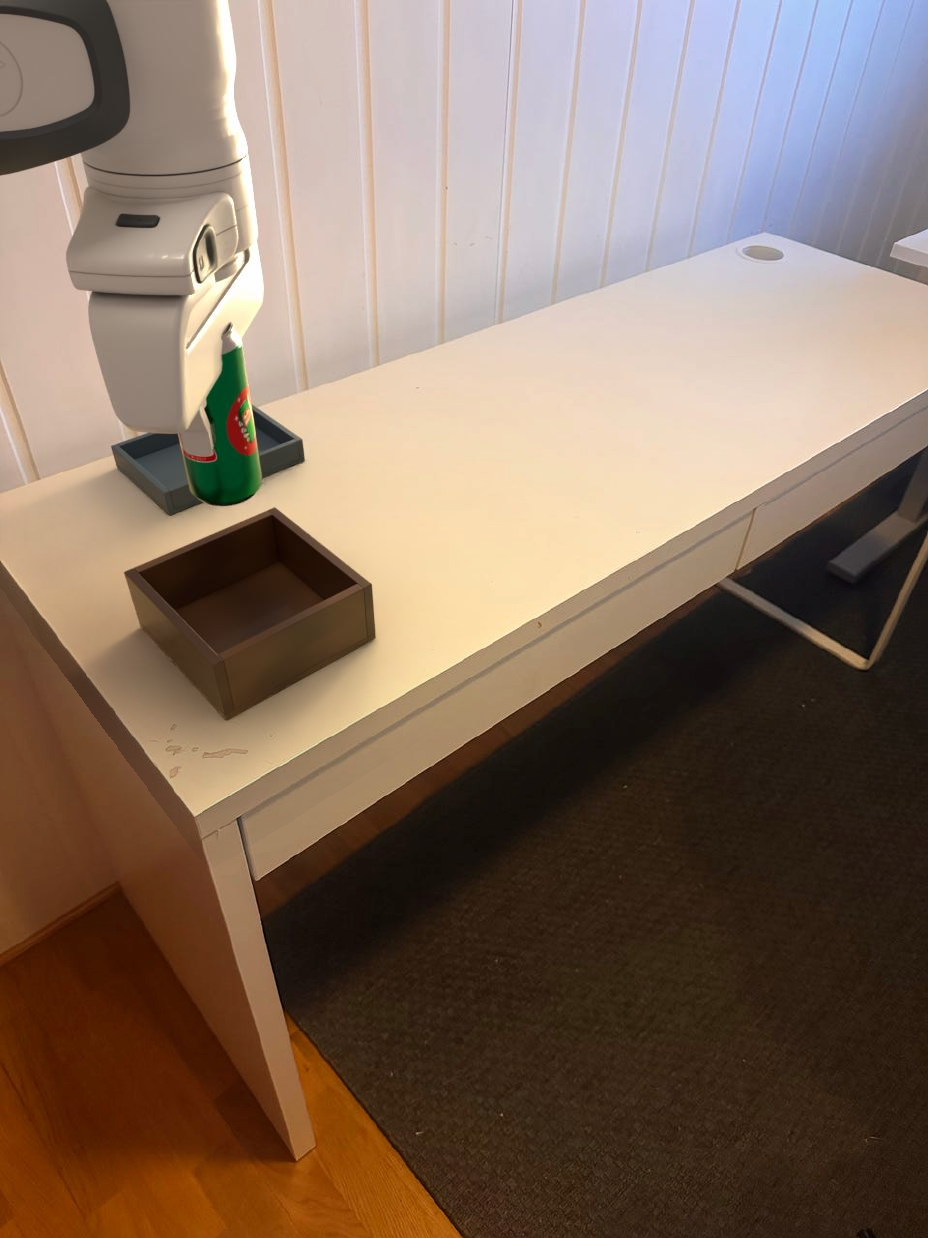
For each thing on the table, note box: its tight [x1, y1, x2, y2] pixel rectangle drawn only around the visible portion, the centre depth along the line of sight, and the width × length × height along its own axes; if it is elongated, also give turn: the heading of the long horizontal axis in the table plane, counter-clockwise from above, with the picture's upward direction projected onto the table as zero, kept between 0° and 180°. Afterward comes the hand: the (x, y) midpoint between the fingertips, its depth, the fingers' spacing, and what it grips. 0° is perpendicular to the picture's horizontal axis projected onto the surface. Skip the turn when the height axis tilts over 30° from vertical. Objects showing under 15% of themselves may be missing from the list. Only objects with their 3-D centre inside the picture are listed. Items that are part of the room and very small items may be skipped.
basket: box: [123, 506, 377, 721], centre depth 70 cm, size 14×14×6 cm
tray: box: [110, 403, 306, 516], centre depth 90 cm, size 15×11×2 cm
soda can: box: [178, 321, 263, 507], centre depth 60 cm, size 5×5×12 cm
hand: (215, 425), depth 60 cm, fingers closed on soda can, 5 cm apart
